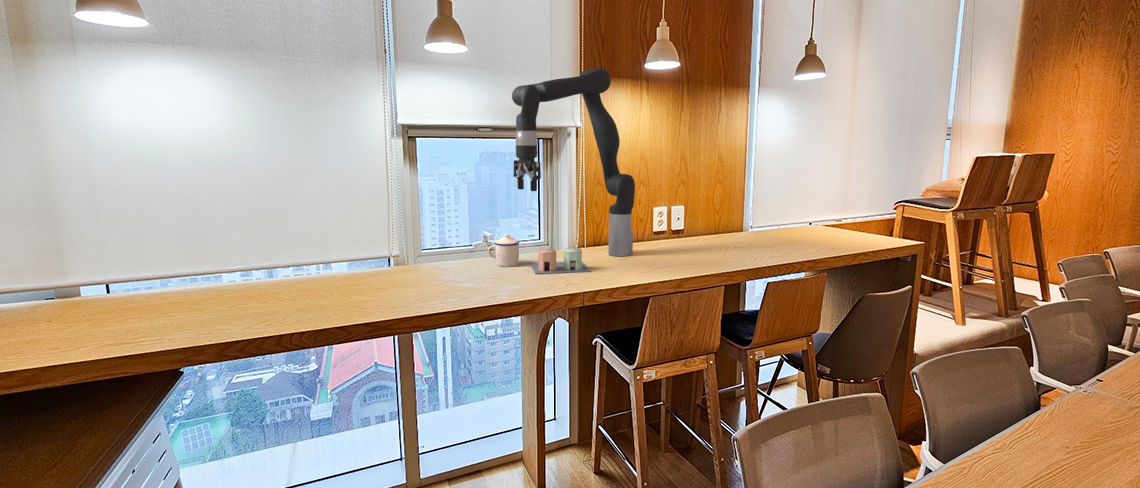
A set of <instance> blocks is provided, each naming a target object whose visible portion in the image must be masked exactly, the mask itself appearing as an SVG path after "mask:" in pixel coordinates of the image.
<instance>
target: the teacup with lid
mask: <svg viewBox="0 0 1140 488" xmlns="http://www.w3.org/2000/svg"><path fill="white" fill-rule="evenodd" d="M519 245H520V241H519V240H518V239H515V238H514V237H512V236H510V234H509V233H507V234H506V233H505V234H504V236H503V237H500V239H496V240H495V243H494V245H490V246H489V247H488V248H487V253H488V255H489V257H490V258H492V259H495V264H496V266H497V267H501V266H502V267H501V268H509V267H510V268H513V267H518V265H519V263H520V260H519V259H520V254H519V252H520V250H519V249H520V247H519ZM491 248H495V256H494V255H493V254H492V253H491ZM512 266H513V267H512Z"/></svg>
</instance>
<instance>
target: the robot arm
mask: <svg viewBox="0 0 1140 488" xmlns="http://www.w3.org/2000/svg"><path fill="white" fill-rule="evenodd" d="M611 81H612V79H611V75H610V73H609V72H608V71H607V70H606V69H604V68H600V67H597V68H590V69H589V68H588V69H584V70H582V72H580V74H579V75H578V76H572V77H563V78H555V79H550V80H545V81H541V82H538V83H532V84H525V85H519V86H516V87H514V89H513V91H512V93H511V99H512V103H514V104H515V105H516V106H518V107H521V110H520V113H519V114H517V115H516V119H515V130H516V131H515V157H516V158H517V159H515V160H513V177H514V178H516V180H517V189H518V190H524V189H525V187H524V186H525V185H524V184H525V182H524V180H525V179H524V177H525V176H528V177H529V179H530V183H529V184H530V191H531V192H537V190H538V180H541V178H542V174H541V173H542V171H541V169H542V168H541V167H542V166H541V161H537V160H536V158H537V157H538V133H537V116H538V113H539V109H540V103H545V102H547V103H548V102H553V101H557V100H561V99H564V98H565V99H566V98H569V97H572V96H576V95H582V98H583V100H584V103H585V106H586V110H587V112H588V116H589V120H590V124H591V127H592V130H593V131H592V132H593V135H594V139H595V143H596V146H597V149H598V152H599V153H598V154H599V158H600V161H601V162H600V163H601V167H602V172H603V180H604V185H605V189H606V192H607V193H608V194H609V195H611V196H614V197H616V200H615V203H614V204H611V205H609V208H608V252H607V253H608V256H609V255H610V256H613V257H628V256H630V255H633V250H634V249H633V247H634V246H633V245H634V231H633V230H632V219H633V218H632V215H633V208H634V204H635V193H636V183H635V179H634V177H633V176H632V175H631V174H629V173H628V174H627V173H620V169H619V166H618V161H617V159H618V152H619V149H620V144H621V142H620V141H621V140H620V134H619V130H618V128H617V124H616V122H615V120H614V118H613V117H612V116H611V115H610V113H609V112H608V110H607V109H606V107H605V106H604V104H603V100H602V97H601V94H604V93H606V92H607V90H609V88H610V86H611ZM535 160H536V161H535Z"/></svg>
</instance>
